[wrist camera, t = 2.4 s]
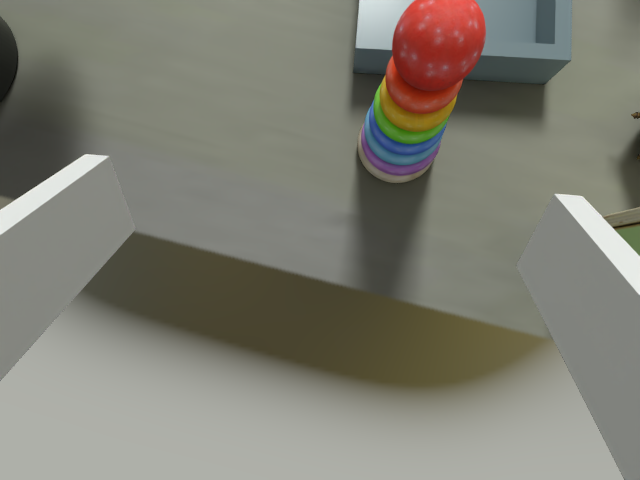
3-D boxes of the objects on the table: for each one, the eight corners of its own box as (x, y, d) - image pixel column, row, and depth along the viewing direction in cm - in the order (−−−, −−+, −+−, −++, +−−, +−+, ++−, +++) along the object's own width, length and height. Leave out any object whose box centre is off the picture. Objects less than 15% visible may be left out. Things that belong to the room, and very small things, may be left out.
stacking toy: (400, 96, 36) (470, -92, 18) (449, 154, 36) (576, 19, 17) (341, 141, 36) (349, -3, 18) (389, 200, 35) (450, 114, 17)
